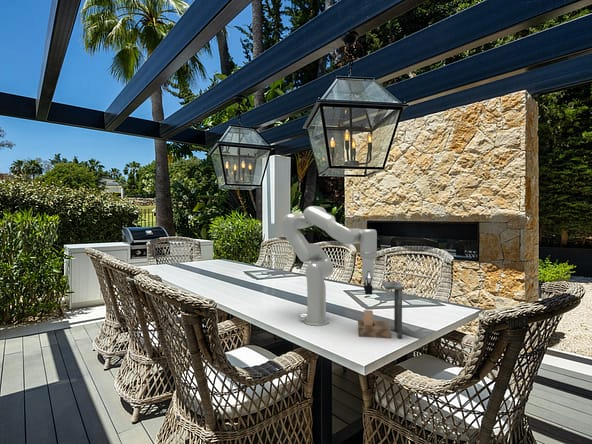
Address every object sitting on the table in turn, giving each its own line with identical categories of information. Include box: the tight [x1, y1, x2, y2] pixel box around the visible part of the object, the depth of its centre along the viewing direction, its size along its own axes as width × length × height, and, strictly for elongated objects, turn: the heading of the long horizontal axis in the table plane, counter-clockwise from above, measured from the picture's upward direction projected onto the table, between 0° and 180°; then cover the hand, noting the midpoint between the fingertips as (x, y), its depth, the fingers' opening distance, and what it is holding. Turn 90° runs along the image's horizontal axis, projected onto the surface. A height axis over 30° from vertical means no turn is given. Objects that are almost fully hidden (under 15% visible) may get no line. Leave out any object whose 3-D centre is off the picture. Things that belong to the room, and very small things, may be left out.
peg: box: [363, 309, 374, 326], centre depth 155 cm, size 4×4×10 cm
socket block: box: [357, 281, 405, 340], centre depth 154 cm, size 20×12×23 cm, turn 81°
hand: (368, 291), depth 155 cm, fingers open, 9 cm apart
